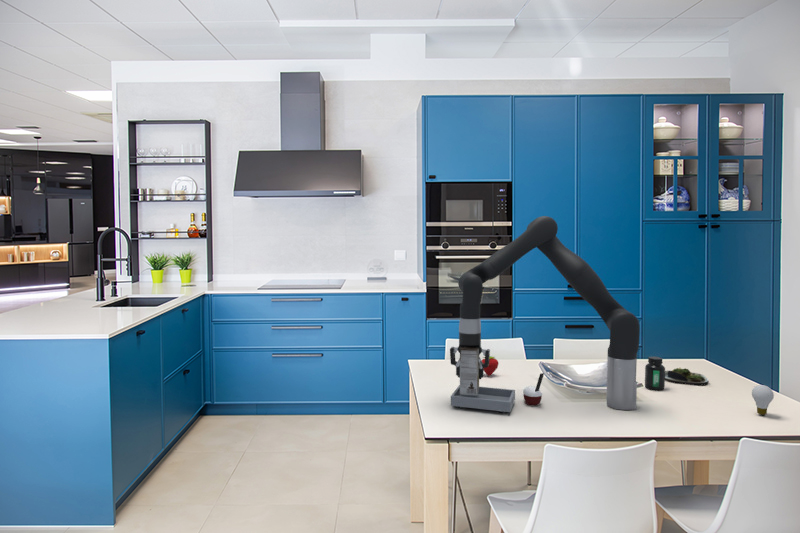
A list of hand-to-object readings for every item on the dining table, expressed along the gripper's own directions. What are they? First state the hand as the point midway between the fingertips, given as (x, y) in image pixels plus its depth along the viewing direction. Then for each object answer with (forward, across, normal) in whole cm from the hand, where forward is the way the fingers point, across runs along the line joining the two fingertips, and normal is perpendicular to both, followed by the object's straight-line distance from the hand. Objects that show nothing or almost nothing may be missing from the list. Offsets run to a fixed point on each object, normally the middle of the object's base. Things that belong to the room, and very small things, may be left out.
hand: (469, 377), depth 178 cm
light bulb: (+10, -93, -20) cm, 96 cm away
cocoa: (+10, -21, -7) cm, 24 cm away
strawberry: (+10, -1, -38) cm, 39 cm away
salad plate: (+10, -77, -58) cm, 97 cm away
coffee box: (+5, 0, 0) cm, 5 cm away
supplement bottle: (+10, -64, -41) cm, 77 cm away
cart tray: (+9, -5, 0) cm, 11 cm away
